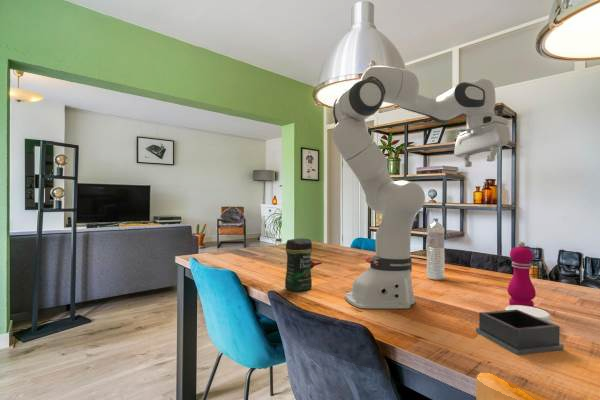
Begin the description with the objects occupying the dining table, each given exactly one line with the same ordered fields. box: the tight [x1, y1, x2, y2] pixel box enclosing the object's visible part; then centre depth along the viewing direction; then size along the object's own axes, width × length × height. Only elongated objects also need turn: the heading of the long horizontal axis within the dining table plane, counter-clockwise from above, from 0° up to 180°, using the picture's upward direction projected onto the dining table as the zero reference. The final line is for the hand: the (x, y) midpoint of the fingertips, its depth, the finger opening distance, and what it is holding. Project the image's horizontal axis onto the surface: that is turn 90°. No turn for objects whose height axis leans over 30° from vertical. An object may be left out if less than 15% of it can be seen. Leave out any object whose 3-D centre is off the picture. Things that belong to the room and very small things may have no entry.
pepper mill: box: [506, 241, 537, 308], centre depth 99 cm, size 7×7×20 cm
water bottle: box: [426, 218, 446, 281], centre depth 134 cm, size 7×7×25 cm
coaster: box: [505, 305, 552, 323], centre depth 86 cm, size 10×10×4 cm
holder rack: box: [475, 310, 565, 356], centre depth 75 cm, size 12×12×5 cm
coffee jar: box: [284, 238, 313, 292], centre depth 118 cm, size 10×8×19 cm
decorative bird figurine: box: [310, 259, 323, 270], centre depth 141 cm, size 3×18×10 cm, turn 49°
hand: (478, 164), depth 111 cm, fingers open, 8 cm apart
